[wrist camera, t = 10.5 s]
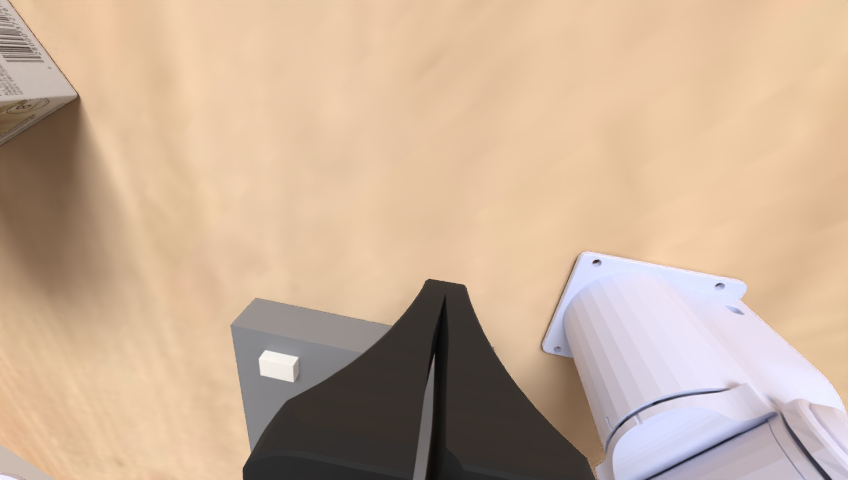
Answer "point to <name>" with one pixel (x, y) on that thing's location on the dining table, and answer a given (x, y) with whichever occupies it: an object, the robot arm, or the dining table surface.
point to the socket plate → (303, 361)
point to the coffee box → (26, 77)
